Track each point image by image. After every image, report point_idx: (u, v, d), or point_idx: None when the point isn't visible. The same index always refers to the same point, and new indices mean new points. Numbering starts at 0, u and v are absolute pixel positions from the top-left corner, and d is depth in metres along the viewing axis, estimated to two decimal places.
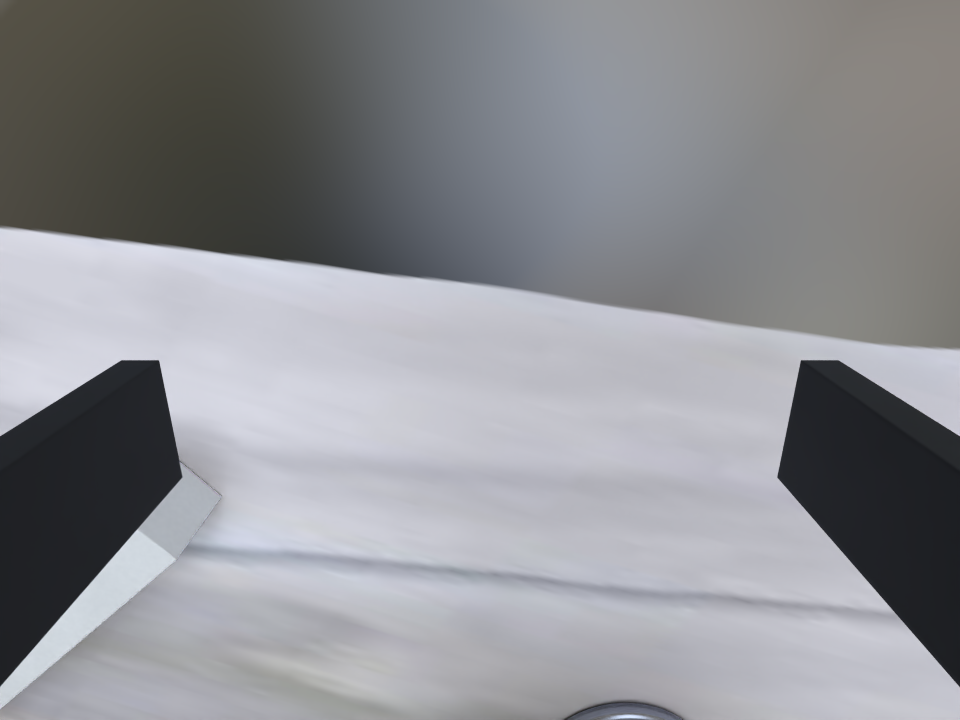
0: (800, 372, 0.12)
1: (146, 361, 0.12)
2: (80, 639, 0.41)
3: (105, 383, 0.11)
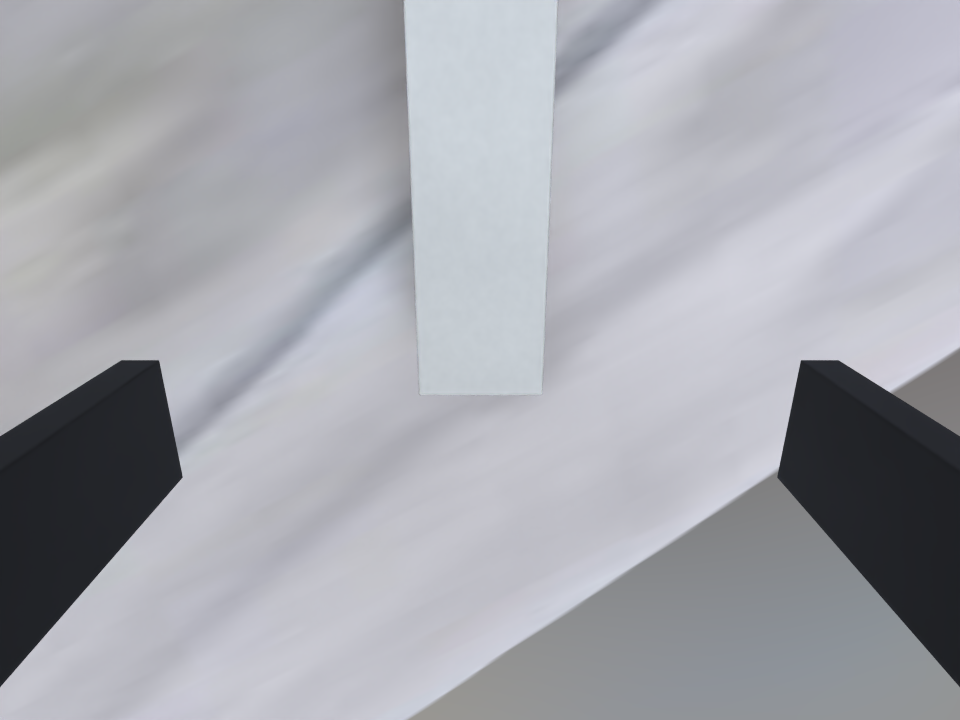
0: (800, 372, 0.12)
1: (146, 361, 0.12)
2: (411, 121, 0.20)
3: (105, 383, 0.11)
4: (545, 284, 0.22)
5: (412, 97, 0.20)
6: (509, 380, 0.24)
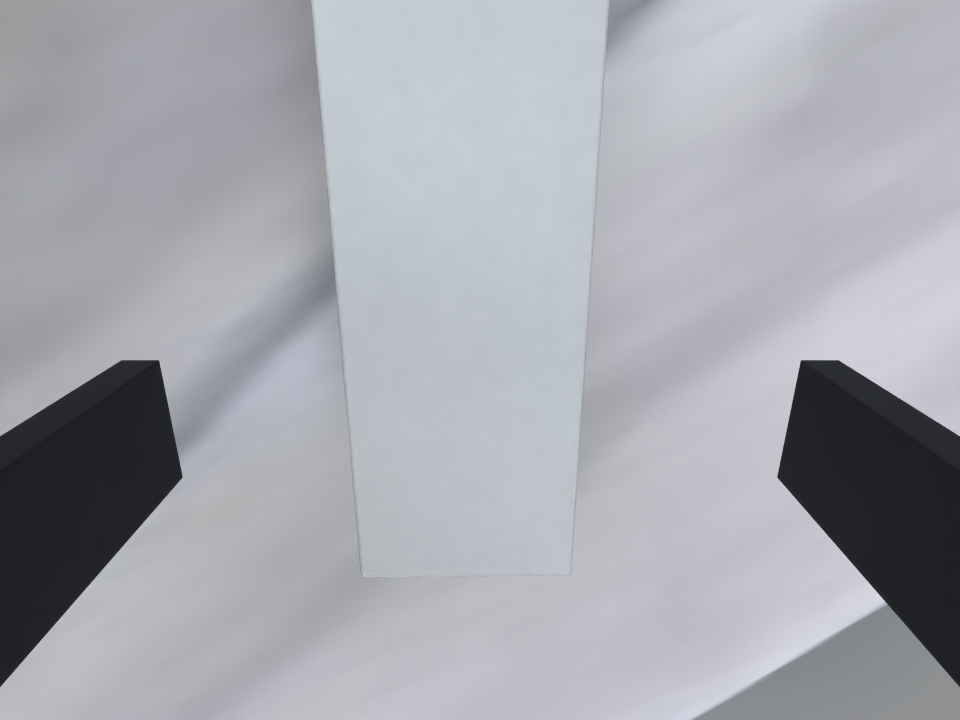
0: (800, 372, 0.12)
1: (146, 361, 0.12)
2: (326, 105, 0.10)
3: (104, 383, 0.11)
4: (580, 399, 0.13)
5: (326, 58, 0.10)
6: (515, 553, 0.14)
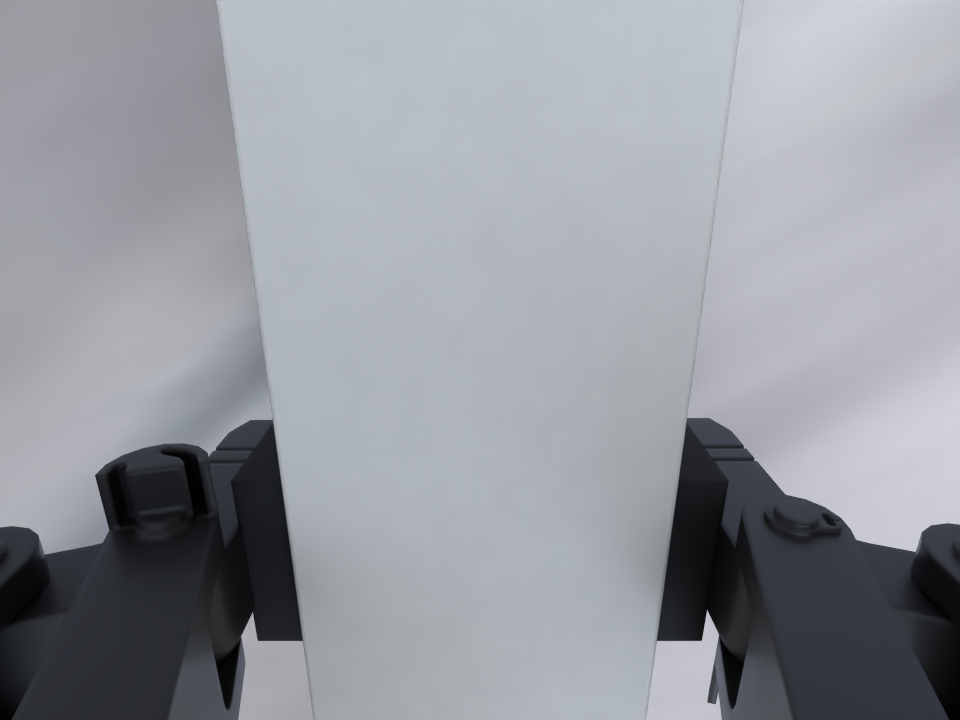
0: None
1: None
2: (236, 84, 0.06)
3: None
4: (664, 559, 0.08)
5: None
6: None
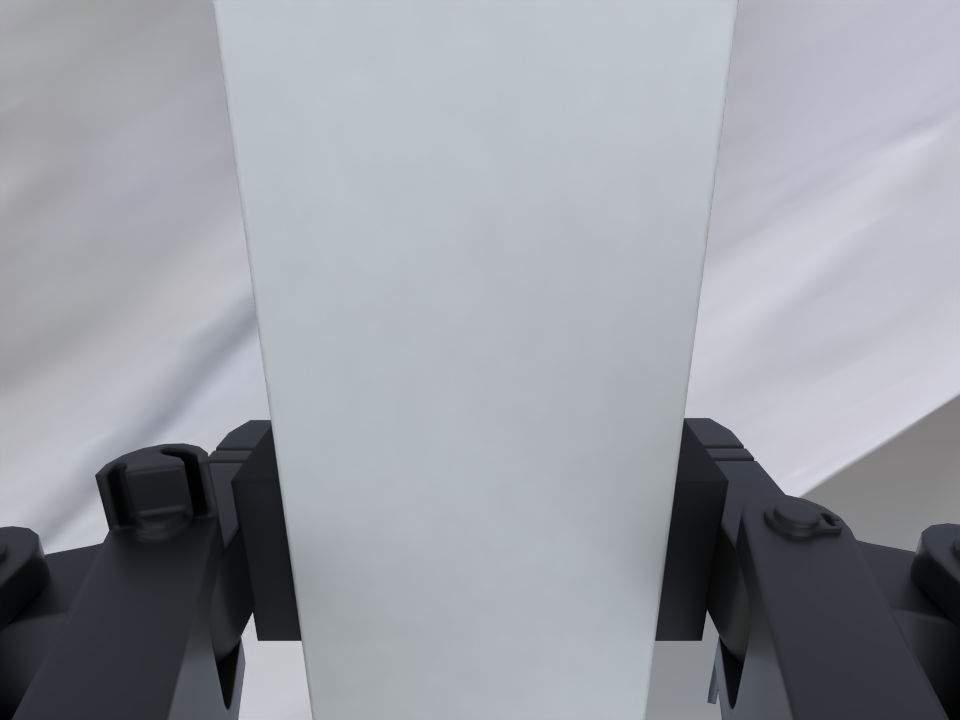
0: None
1: None
2: (233, 86, 0.06)
3: None
4: (662, 559, 0.08)
5: (229, 0, 0.06)
6: None
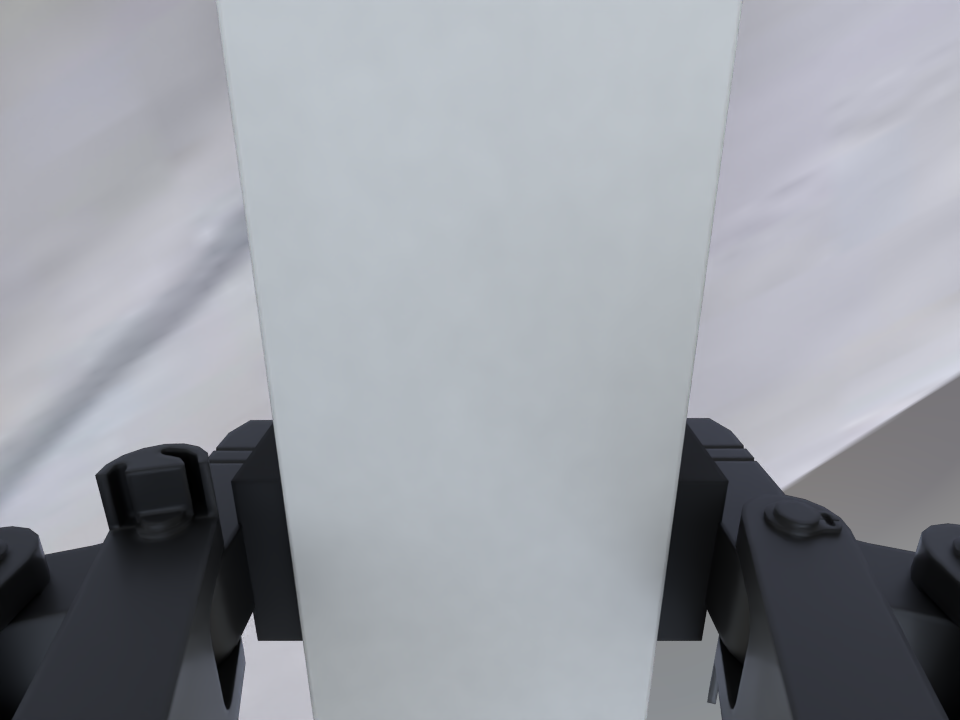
0: None
1: None
2: (236, 86, 0.06)
3: None
4: (664, 561, 0.08)
5: None
6: None
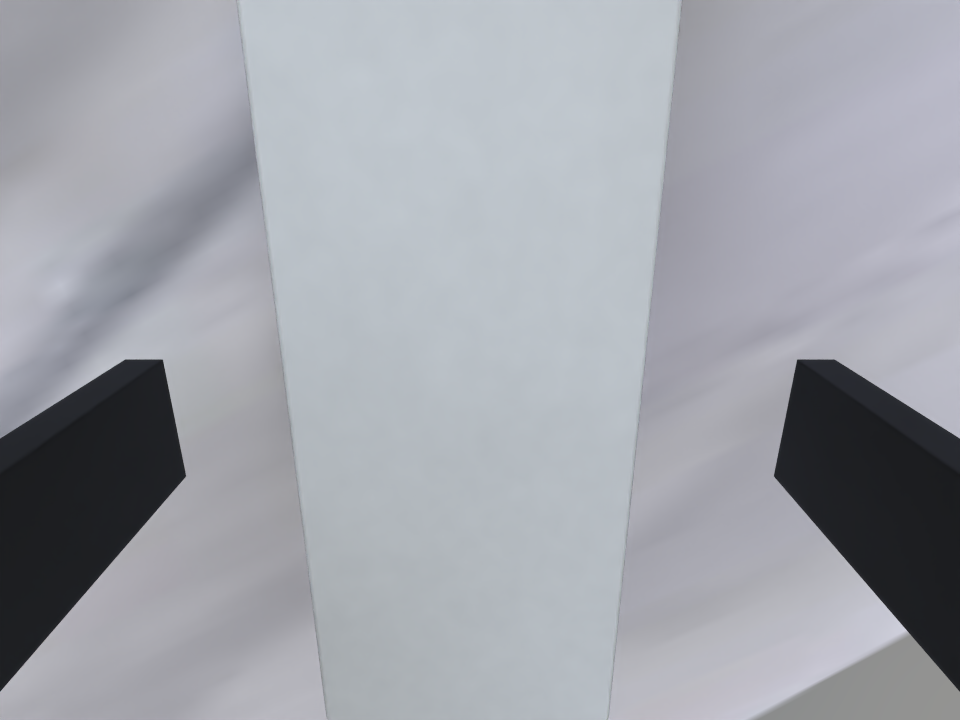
0: (796, 371, 0.12)
1: (150, 360, 0.12)
2: (254, 80, 0.07)
3: (109, 381, 0.11)
4: (627, 500, 0.09)
5: (251, 7, 0.07)
6: (533, 695, 0.10)
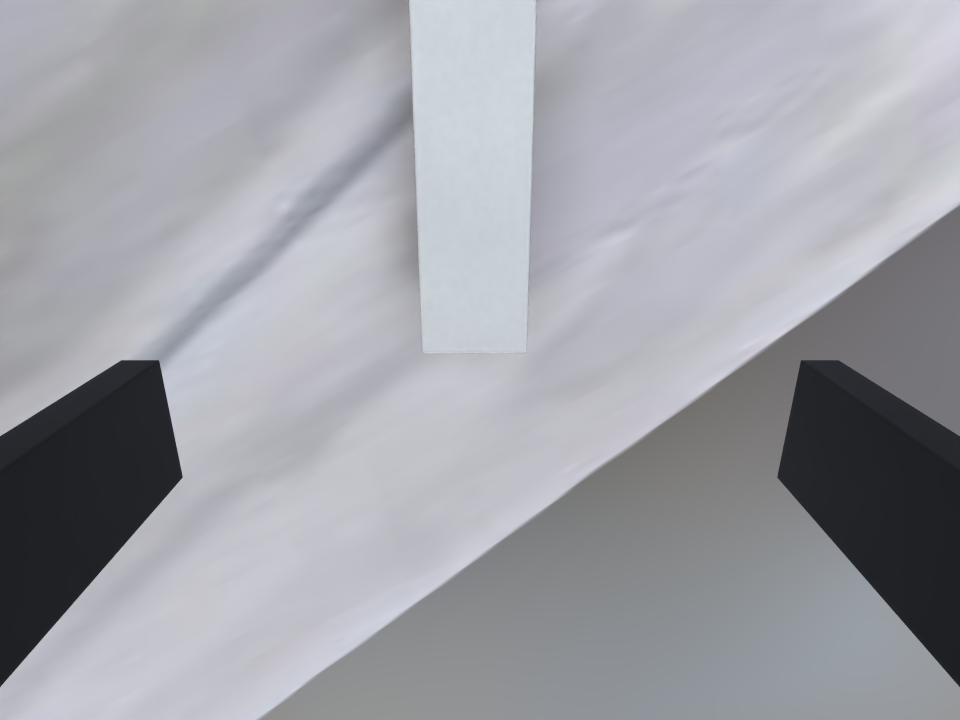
0: (800, 372, 0.12)
1: (146, 361, 0.12)
2: (415, 120, 0.25)
3: (105, 383, 0.11)
4: (528, 257, 0.27)
5: (416, 100, 0.24)
6: (498, 340, 0.28)
